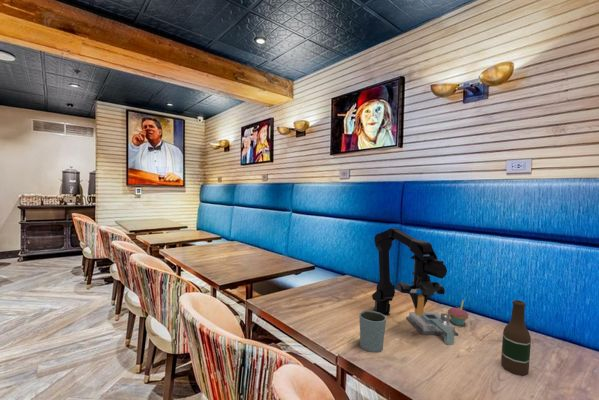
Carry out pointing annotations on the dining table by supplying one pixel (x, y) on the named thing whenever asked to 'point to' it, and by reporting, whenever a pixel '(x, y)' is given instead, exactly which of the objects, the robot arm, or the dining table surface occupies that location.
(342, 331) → the dining table surface
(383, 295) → the robot arm
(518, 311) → the beer bottle
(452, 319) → the cupcake
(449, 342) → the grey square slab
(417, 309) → the orange upright bar
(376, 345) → the grey cup
